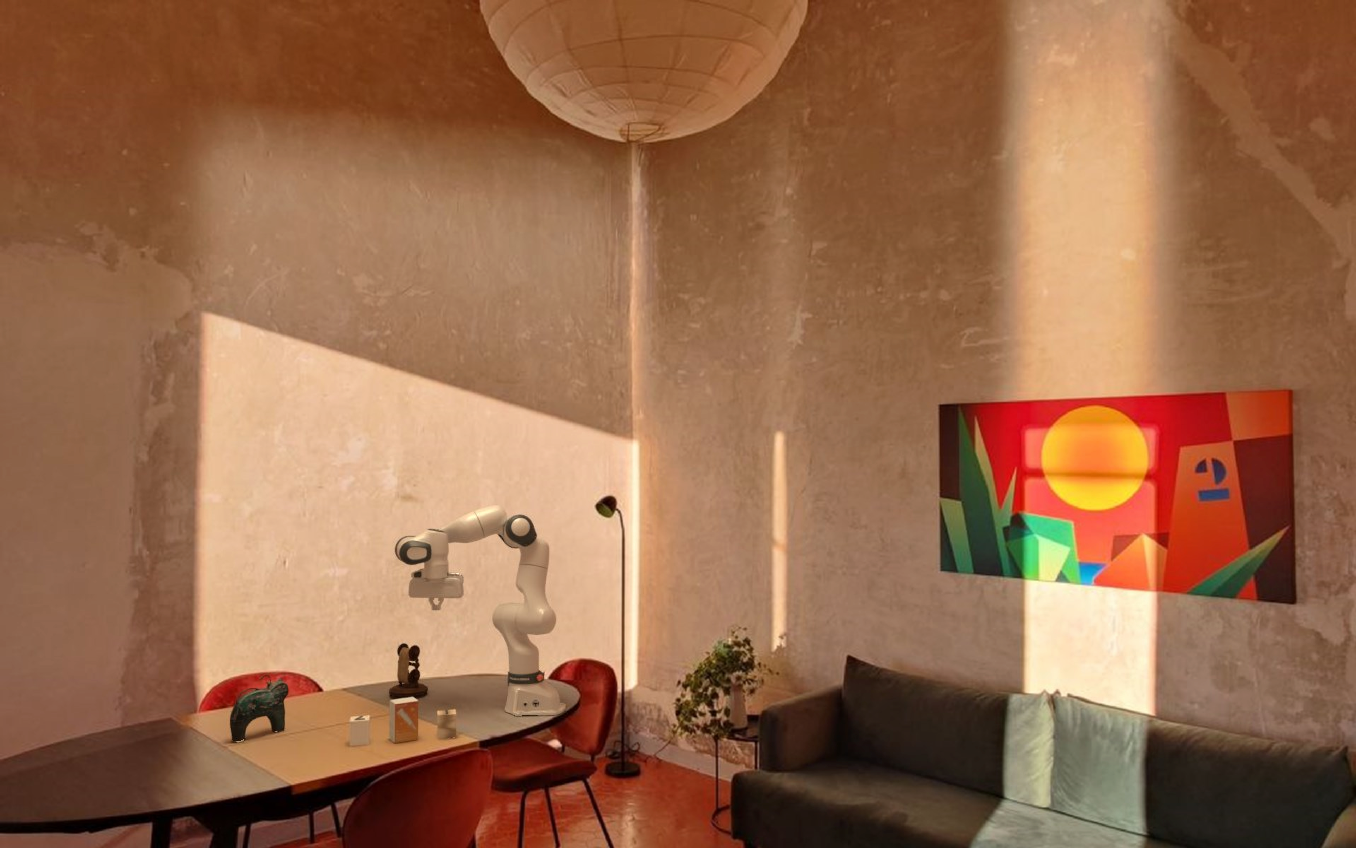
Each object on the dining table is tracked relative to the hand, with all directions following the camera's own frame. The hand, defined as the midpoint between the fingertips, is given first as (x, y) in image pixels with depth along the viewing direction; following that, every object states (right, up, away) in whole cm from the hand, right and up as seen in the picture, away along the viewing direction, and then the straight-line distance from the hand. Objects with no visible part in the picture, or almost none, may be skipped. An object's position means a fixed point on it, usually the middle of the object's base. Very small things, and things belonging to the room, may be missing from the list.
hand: (436, 610), depth 357 cm
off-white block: (-15, -36, -40) cm, 56 cm away
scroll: (-16, -38, +22) cm, 47 cm away
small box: (-2, -36, -36) cm, 51 cm away
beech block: (+12, -36, -33) cm, 50 cm away
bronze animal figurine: (-52, -37, -31) cm, 71 cm away
